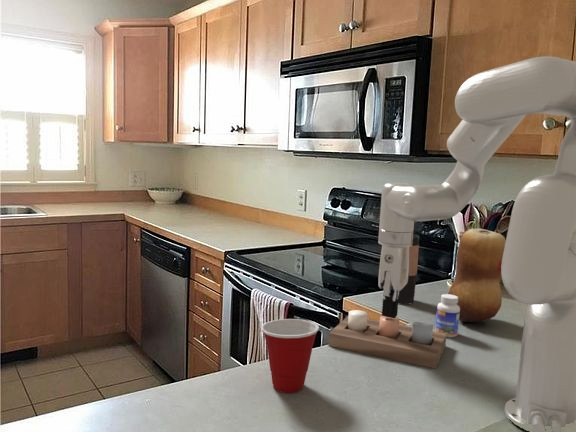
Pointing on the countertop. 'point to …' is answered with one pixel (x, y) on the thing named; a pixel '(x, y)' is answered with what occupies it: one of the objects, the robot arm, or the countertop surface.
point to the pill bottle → (448, 315)
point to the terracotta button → (389, 327)
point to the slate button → (422, 333)
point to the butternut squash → (478, 275)
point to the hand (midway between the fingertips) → (389, 316)
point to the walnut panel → (389, 344)
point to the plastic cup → (289, 351)
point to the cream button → (357, 321)
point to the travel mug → (410, 274)
